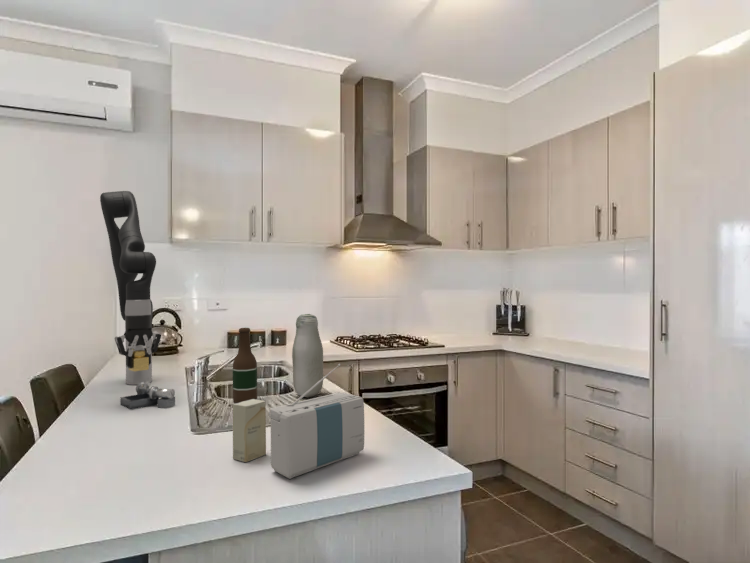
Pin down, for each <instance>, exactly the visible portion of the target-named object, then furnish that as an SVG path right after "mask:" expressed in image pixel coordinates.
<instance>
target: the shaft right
mask: <svg viewBox="0 0 750 563" xmlns="http://www.w3.org/2000/svg"><path fill="white" fill-rule="evenodd" d="M149 389H150V390H149V398H150V399H156V398H159V399H158V405H157V409H158V408H159V409H167V408H171V407H173V406H175V405H176V396H175V395H176V394H175V393H176V392H175V389H173V388H159V387H158V386H154V385H153V386H150V387H149Z"/></svg>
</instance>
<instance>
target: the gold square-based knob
mask: <svg viewBox="0 0 750 563" xmlns="http://www.w3.org/2000/svg"><path fill="white" fill-rule="evenodd" d="M132 357H133V358H132V368H129V370H131V371H142V370H149V357H146V353H145V350H135V351H133V354H132Z"/></svg>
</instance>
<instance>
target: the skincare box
mask: <svg viewBox="0 0 750 563" xmlns="http://www.w3.org/2000/svg"><path fill="white" fill-rule="evenodd" d="M266 408H267V407H266V400H263V399H262V400H261V399H257V400H256V399H251V400H247V401H243V402H240V403H232V459H233V460H236V461H240V462H243V463H244V462H245V463H248V462H251V461H253V460H256V459H258V458H261V457H263V456H265V455H267V427H266V425H267V423H266V421H267V420H266V419H267V415H266V412H267V410H266Z"/></svg>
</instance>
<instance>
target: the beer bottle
mask: <svg viewBox="0 0 750 563" xmlns="http://www.w3.org/2000/svg"><path fill="white" fill-rule="evenodd" d="M238 332H239V336H238V337H239V338H238V349H237V351H238V352H237V354H236V355H235V358H234V360H233V363H232V401H233V402H232V403H233V404H236V403H240V402H243V401H247V400H251V399H256V400H258V363H257V359H256V357H255V355H254V354H253V352H252V348H251V335H250V334H251V333H250V332H251V328H250V327H241V328H239V329H238Z"/></svg>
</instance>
